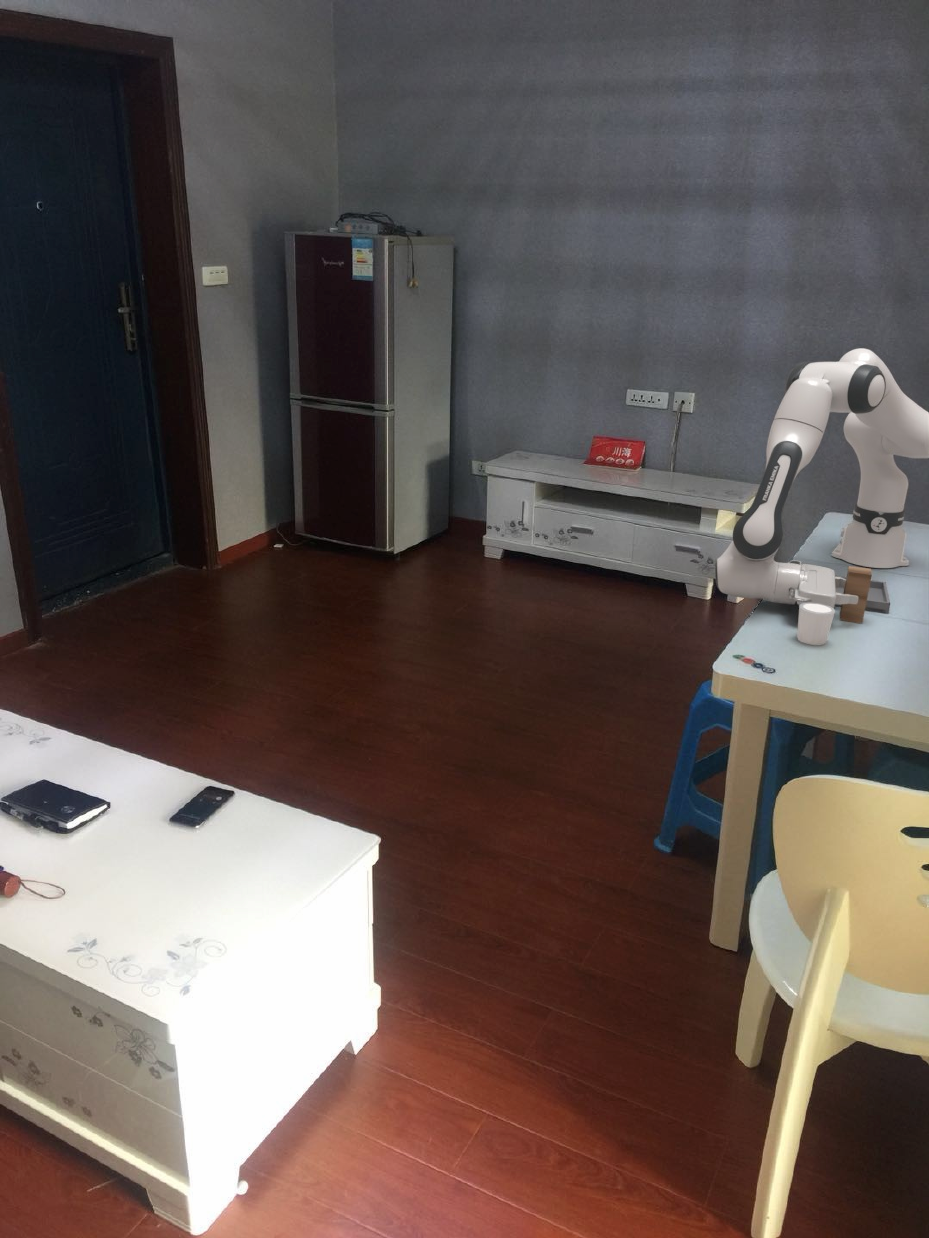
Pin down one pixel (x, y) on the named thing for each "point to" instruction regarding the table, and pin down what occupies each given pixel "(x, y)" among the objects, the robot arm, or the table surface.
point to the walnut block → (858, 585)
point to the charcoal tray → (874, 597)
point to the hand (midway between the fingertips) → (857, 592)
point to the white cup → (814, 623)
